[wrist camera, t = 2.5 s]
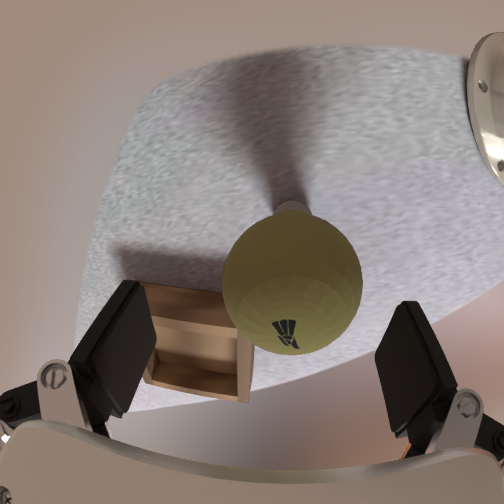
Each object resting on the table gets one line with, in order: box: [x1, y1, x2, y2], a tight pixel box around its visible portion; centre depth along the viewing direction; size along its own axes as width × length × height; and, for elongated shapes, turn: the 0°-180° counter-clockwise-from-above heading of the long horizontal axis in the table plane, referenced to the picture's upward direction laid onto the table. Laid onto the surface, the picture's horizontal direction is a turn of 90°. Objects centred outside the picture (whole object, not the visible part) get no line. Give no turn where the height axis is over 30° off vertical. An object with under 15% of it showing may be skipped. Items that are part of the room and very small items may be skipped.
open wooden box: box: [140, 282, 255, 403], centre depth 22 cm, size 10×10×4 cm
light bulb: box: [222, 200, 363, 355], centre depth 13 cm, size 6×6×10 cm
